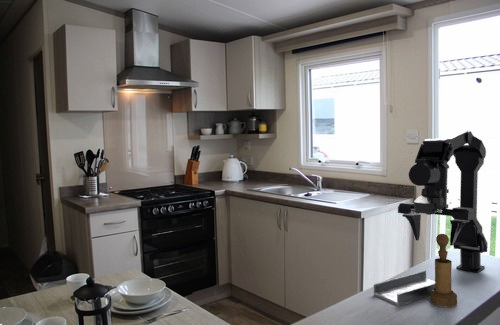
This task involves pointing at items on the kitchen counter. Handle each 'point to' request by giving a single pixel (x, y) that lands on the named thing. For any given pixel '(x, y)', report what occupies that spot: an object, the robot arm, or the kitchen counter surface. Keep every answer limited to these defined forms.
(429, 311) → the kitchen counter surface
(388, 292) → the floor track
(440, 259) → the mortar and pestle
